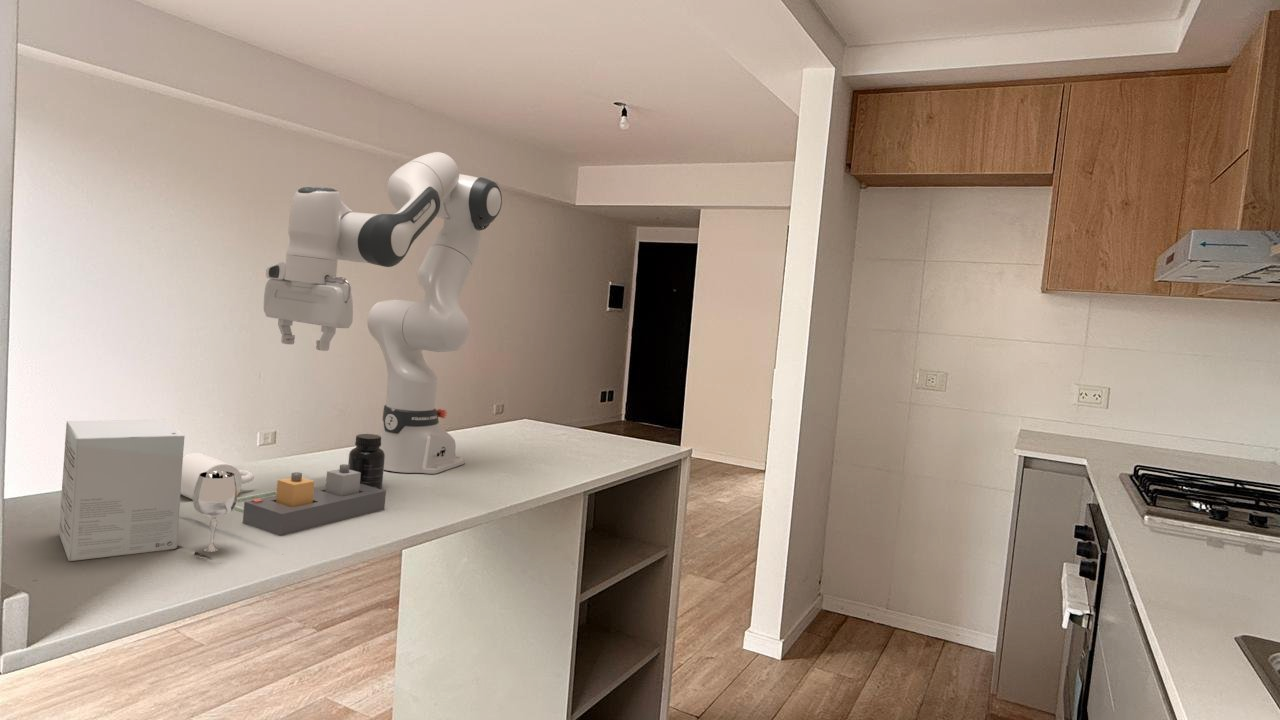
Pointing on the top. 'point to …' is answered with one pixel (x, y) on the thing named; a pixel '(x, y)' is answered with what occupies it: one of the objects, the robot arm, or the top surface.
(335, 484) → the gray knobbed block
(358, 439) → the supplement bottle
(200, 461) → the mug
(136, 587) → the top surface
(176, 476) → the supplement box
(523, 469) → the top surface
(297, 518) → the strip
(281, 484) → the plug
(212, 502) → the wineglass
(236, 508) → the tray
